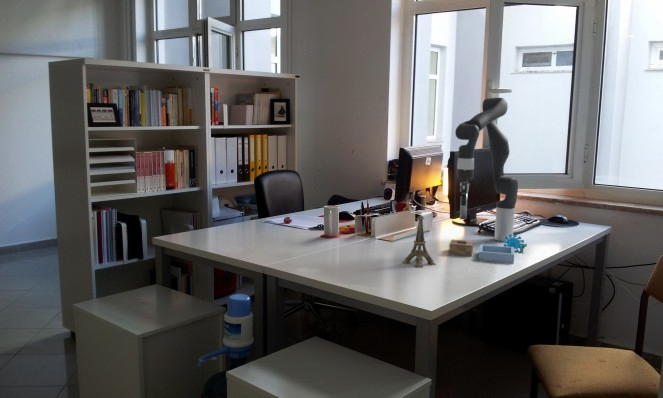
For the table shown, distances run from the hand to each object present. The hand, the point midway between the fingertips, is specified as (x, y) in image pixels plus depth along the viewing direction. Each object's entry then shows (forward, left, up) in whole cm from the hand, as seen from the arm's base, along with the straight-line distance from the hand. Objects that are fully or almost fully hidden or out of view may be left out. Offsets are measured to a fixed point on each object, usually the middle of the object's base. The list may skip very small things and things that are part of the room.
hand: (463, 204), depth 266 cm
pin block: (0, 0, -23) cm, 23 cm away
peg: (0, 0, -7) cm, 7 cm away
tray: (+4, +16, -23) cm, 28 cm away
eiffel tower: (+27, -16, -23) cm, 39 cm away
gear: (-14, +24, -23) cm, 36 cm away
